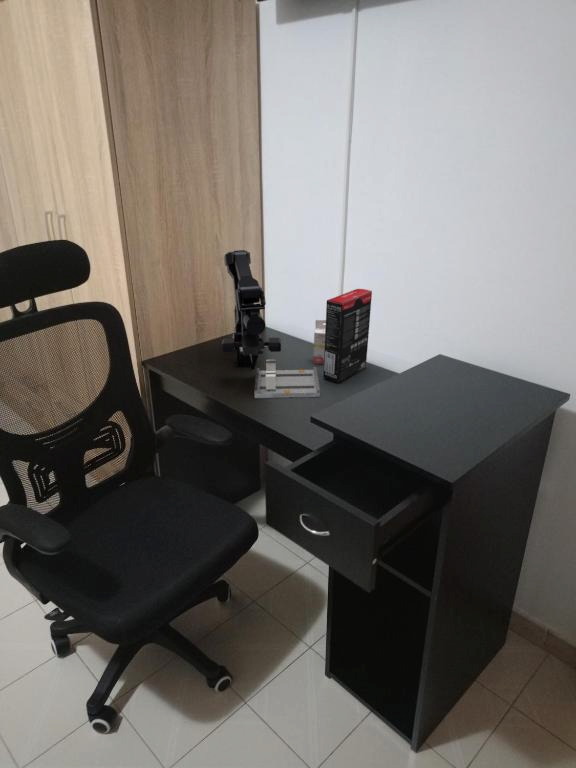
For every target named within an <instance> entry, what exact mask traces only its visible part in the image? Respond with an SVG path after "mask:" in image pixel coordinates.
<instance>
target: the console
mask: <svg viewBox="0 0 576 768" xmlns="http://www.w3.org/2000/svg"><path fill="white" fill-rule="evenodd" d="M312 368H313V369H291V370H290V369H285V370H284V369H283V370H281V369H276V389H267V390H266V370H260V367H256V368H255V378H254V379H255V380H254V390H253V391H254V392H253V393H254V399H276V398H277V399H279V398H282V399H283V398H284V399H285V398H288V399H289V397H293V398H321V397H320V395H321V388H320V382H319V376H318V375H319V374H318V368H317V366H313V367H312Z"/></svg>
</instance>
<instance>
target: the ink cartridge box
mask: <svg viewBox="0 0 576 768" xmlns="http://www.w3.org/2000/svg"><path fill="white" fill-rule="evenodd" d="M325 329H326V319H316V320H315V328H314V335H313V365H315V364H317V365H324V351H325Z"/></svg>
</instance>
